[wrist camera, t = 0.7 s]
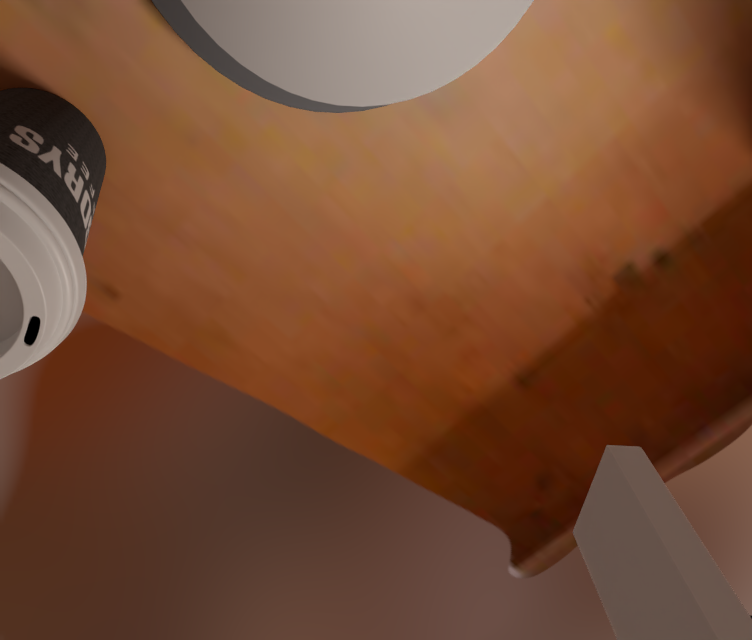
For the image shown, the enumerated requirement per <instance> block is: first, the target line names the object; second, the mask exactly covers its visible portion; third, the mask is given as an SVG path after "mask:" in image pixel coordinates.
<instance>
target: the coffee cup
mask: <svg viewBox="0 0 752 640" xmlns="http://www.w3.org/2000/svg"><path fill="white" fill-rule="evenodd" d="M105 169H106V156H105V150H104V147H103V143H102V141H101V138H100V136H99V134H98V133H97V131H96V129H95V128H94V126H93V125H92V123H91V122H90V121H89V120H88V119H87V117H86V116H85V115H84V114H83V113H82V112H80V111H79V110H78V109H77V108H76V107H74V106H73V105H72V104H70V103H69V102H67V101H65V100H64V99H62V98H60V97H58V96H56V95H54V94H51V93H48V92H45V91H42V90H37V89H31V88H12V89H6V90H2V91H0V379H2V378H4V377H6V376H8V375H9V374H12V373H15V372H17V371H19V370H22V369H24V368H26V367H28V366H30V365H31V364H33V363H35V362H36V361H38V360H40V359H41V358H43V357H44V356H46V355H47V354H48V353H50V352H51V351H52V350H53V349H54V348H55V347H56V346H57V345H59V344H60V343H61V342H62V341H63V340H64V339H65V338H66V337H67V336H68V334H69V333H70V332H71V331H72V329H73V328H74V326H75V324H76V323H77V321H78V319H79V317H80V315H81V312H82V309H83V306H84V302H85V297H86V287H87V282H86V271H85V265H84V261H83V253H84V249H85V245H86V242H87V238H88V234H89V230H90V227H91V223H92V219H93V215H94V212H95V208H96V204H97V201H98V197H99V193H100V190H101V186H102V182H103V178H104V175H105Z"/></svg>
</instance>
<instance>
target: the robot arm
mask: <svg viewBox="0 0 752 640" xmlns="http://www.w3.org/2000/svg"><path fill="white" fill-rule="evenodd" d="M573 534H574V537H575V539H576V542H577V544H578V546H579V549H580V551H581V554H582V556H583V558H584V561H585V563H586V566H587V568H588V571H589V573H590V575H591V578H592V580H593V582H594V585H595V587H596V590H597V592H598V595H599V597H600V599H601V602H602V604H603V606H604V609H605V611H606V614H607V616H608V619H609V621H610V623H611V626H612V628H613V631H614V633H615V635H616V638H617V640H752V616H750V615H749V614H748V612H747V611H746V609H745V608H744V606H743V604H742V603H741V601H740V600H739V598H738V597H737V595H736V594H735V592H734V591H733V589H732V588H731V586H730V584H729V583H728V581H727V580H726V578H725V577H724V575H723V574H722V572H721V571H720V569H719V567H718V566H717V564H716V563H715V561H714V560H713V558H712V556H711V555H710V553H709V552H708V550H707V549H706V547H705V546H704V544H703V543H702V541H701V540H700V538H699V536H698V535H697V533H696V532H695V530H694V529H693V527H692V526H691V524H690V523H689V521H688V519H687V518H686V516H685V515H684V513H683V512H682V510H681V509H680V507H679V506H678V504H677V502H676V501H675V499H674V498H673V496H672V495H671V493H670V492H669V490H668V488H667V487H666V485H665V484H664V482H663V481H662V479H661V477H660V476H659V474H658V473H657V471H656V470H655V468H654V467H653V465H652V464H651V462H650V460H649V459H648V457H647V456H646V454H645V453H644V451H643V450H642V448H641V447H633V446H613V445H607V446H606V449H605V451H604V454H603V456H602V459H601V462H600V464H599V467H598V469H597V472H596V474H595V477H594V479H593V482H592V484H591V487H590V490H589V492H588V495H587V497H586V500H585V502H584V505H583V507H582V510H581V512H580V515H579V518H578V520H577V523H576V525H575V528H574V530H573Z"/></svg>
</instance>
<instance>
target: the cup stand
mask: <svg viewBox="0 0 752 640" xmlns="http://www.w3.org/2000/svg"><path fill="white" fill-rule="evenodd" d="M533 1H534V0H152V2H153V3H154V5H155V6H156V8H157V9H158V10H159V12H160V13H161V14H162V15H163V17H164V18H165V19H166V21H167V22H168V23H169V25H170V26H171V27H172V28H173V30H174V31H175V32H176V33H177V34H178V35H179V36H180V37H181V38H182V39H183V40H184V41H185V42H186V44H187V45H188V46H189V47H190V48H191V49H192V50H193V51H194V52H195V53H196V54H197V55H199V56H200V57H201V58H202V59H203V60H205V61H206V62H207V63H208V64H209V65H211V66H212V67H213V68H214V69H215V70H217V71H218V72H219V73H221V74H222V75H224V76H225V77H227V78H228V79H230V80H232V81H233V82H235V83H236V84H238V85H239V86H241V87H243V88H245V89H247V90H249V91H251V92H253V93H255V94H257V95H259V96H261V97H263V98H265V99H268V100H271V101H274V102H277V103H280V104H283V105H286V106H289V107H294V108H299V109H304V110H309V111H314V112H332V113H343V112H355V111H364V110H369V109H373V108H378V107H382V106H386V105H389V104H392V103H397V102H401V101H406V100H410V99H413V98H416V97H419V96H421V95H424V94H427V93H429V92H432V91H434V90H436V89H438V88H440V87H442V86H444V85H446V84H448V83H450V82H452V81H454V80H455V79H457V78H458V77H460V76H461V75H463V74H464V73H466V72H467V71H468V70H470V69H471V68H473V67H474V66H476V65H477V64H478V63H479V62H480V61H481V60H483V59H484V58H485V57H486V56H487V55H488V54H489V53H490V52H492V51H493V50H494V49H495V48H496V47H497V46H498V45H499V44H500V43H501V42H502V41H503V39H504V38H505V37H506V36H507V35H508V34H509V33H510V32H511V30H512V29H513V28H514V27H515V26H516V25H517V23H518V22H519V20H520V19H521V18H522V16H523V15H524V13H525V12H526V11H527V9H528V8H529V7H530V5H531V4H532V2H533Z"/></svg>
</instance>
